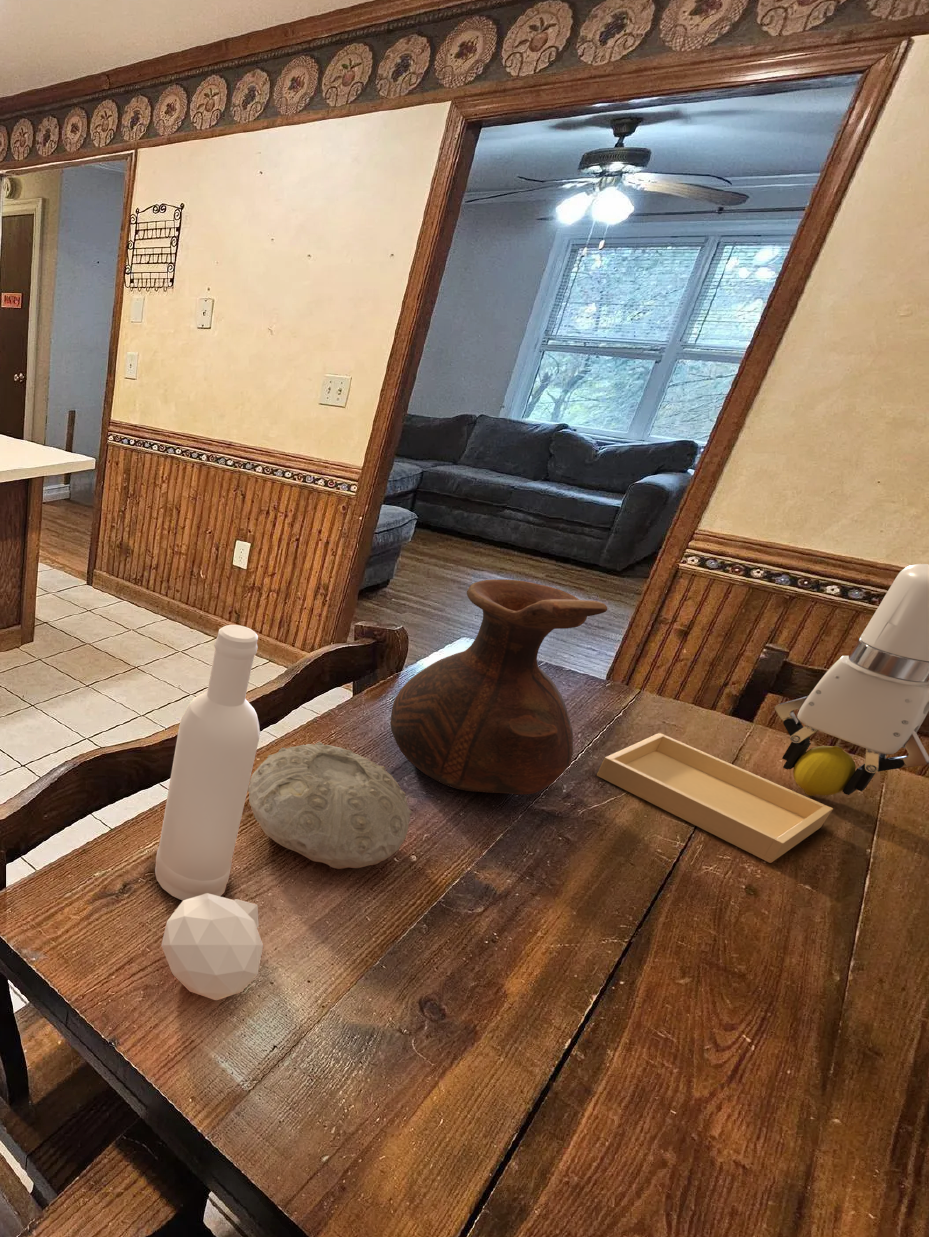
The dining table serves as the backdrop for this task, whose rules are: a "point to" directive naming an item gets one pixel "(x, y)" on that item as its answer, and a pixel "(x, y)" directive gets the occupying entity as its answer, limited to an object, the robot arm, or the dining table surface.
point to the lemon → (824, 770)
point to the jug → (494, 697)
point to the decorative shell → (329, 805)
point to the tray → (715, 795)
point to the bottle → (210, 774)
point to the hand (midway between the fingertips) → (819, 777)
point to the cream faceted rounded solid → (213, 945)
